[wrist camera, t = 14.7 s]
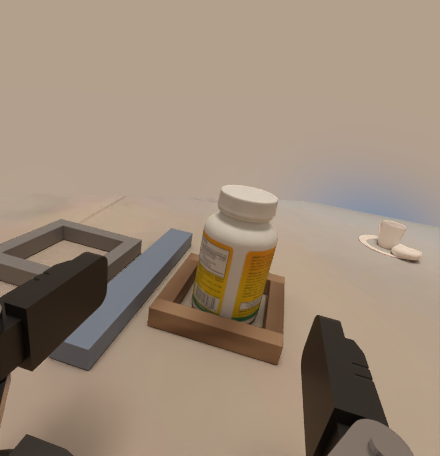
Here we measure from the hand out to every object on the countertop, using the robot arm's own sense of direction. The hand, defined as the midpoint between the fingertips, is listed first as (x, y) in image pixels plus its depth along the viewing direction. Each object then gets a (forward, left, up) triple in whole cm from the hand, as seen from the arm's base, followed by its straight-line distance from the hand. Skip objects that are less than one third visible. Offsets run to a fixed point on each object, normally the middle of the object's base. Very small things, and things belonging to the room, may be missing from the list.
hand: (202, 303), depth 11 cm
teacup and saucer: (-11, +37, -8) cm, 39 cm away
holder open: (-18, -3, -8) cm, 19 cm away
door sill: (-13, +2, -8) cm, 15 cm away
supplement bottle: (-7, +7, -8) cm, 13 cm away
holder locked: (-8, +7, -8) cm, 13 cm away
